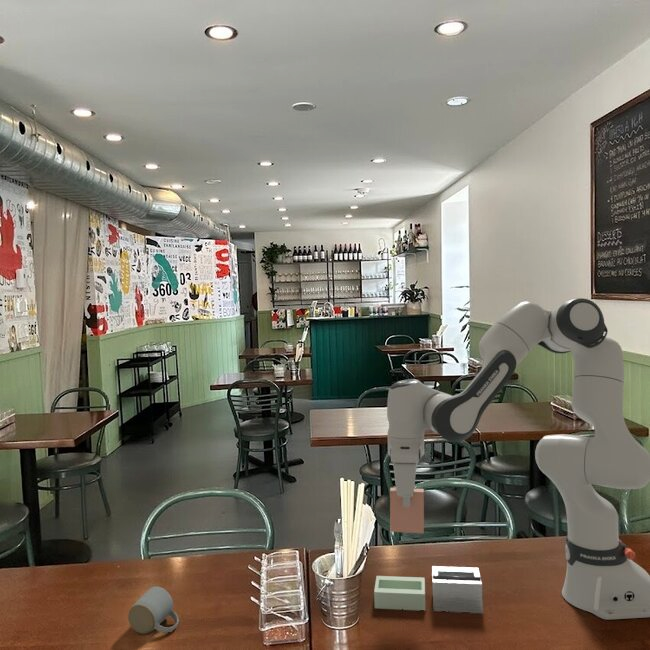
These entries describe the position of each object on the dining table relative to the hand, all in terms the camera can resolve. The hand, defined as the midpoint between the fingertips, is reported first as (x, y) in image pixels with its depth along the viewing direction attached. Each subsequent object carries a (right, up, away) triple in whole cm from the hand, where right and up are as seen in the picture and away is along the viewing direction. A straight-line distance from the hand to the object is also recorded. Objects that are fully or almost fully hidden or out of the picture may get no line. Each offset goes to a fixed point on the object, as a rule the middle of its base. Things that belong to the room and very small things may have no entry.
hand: (406, 503), depth 139 cm
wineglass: (-14, -24, +22) cm, 36 cm away
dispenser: (+12, -24, -1) cm, 26 cm away
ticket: (0, -7, 0) cm, 7 cm away
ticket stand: (-1, -24, +1) cm, 24 cm away
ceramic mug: (-59, -27, -5) cm, 65 cm away
